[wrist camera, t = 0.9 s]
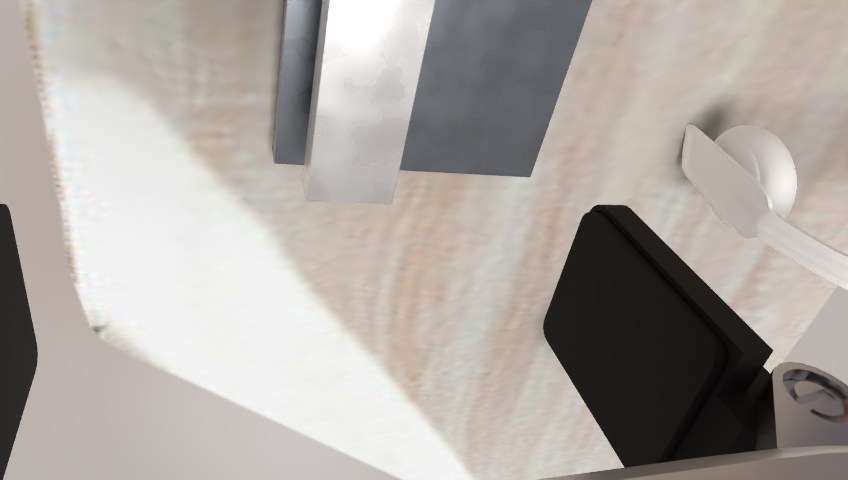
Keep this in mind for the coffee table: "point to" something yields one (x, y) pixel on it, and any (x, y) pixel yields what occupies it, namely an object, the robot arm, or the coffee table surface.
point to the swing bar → (363, 97)
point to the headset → (757, 193)
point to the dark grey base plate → (454, 83)
